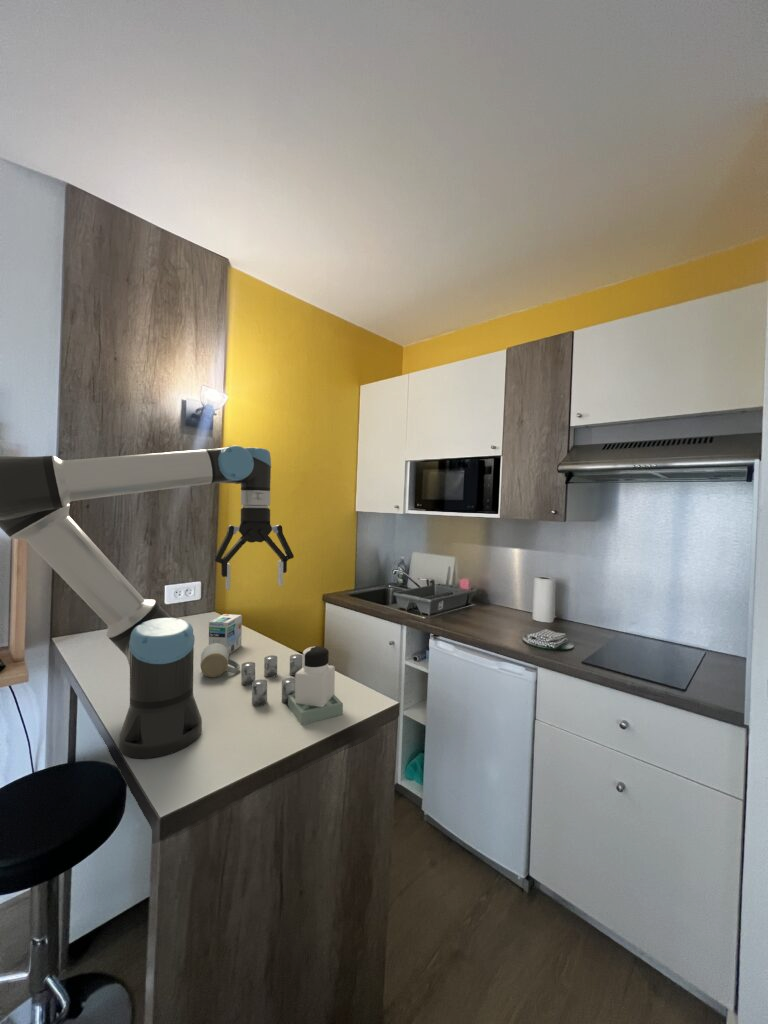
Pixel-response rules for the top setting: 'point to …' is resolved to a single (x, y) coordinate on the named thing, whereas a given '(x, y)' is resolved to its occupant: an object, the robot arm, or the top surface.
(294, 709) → the tray
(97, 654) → the top surface
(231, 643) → the light bulb box
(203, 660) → the ceramic mug
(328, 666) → the medicine bottle
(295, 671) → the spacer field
